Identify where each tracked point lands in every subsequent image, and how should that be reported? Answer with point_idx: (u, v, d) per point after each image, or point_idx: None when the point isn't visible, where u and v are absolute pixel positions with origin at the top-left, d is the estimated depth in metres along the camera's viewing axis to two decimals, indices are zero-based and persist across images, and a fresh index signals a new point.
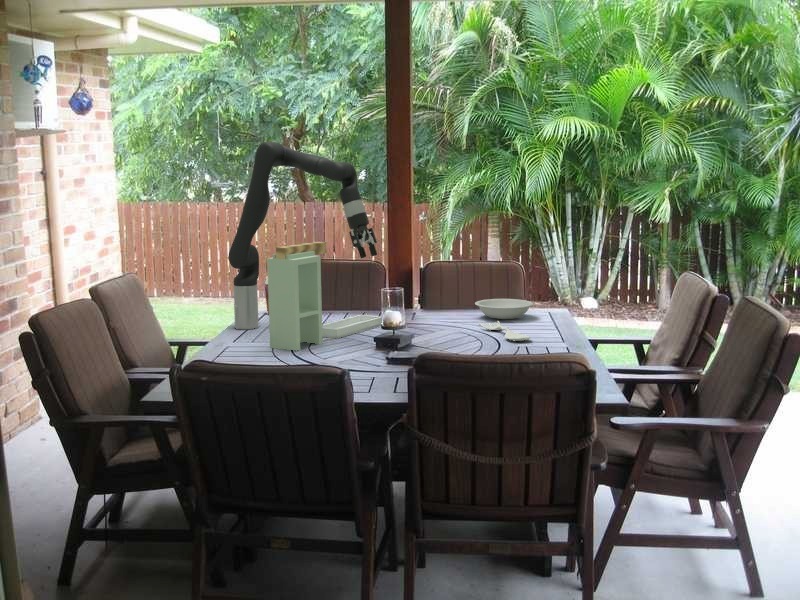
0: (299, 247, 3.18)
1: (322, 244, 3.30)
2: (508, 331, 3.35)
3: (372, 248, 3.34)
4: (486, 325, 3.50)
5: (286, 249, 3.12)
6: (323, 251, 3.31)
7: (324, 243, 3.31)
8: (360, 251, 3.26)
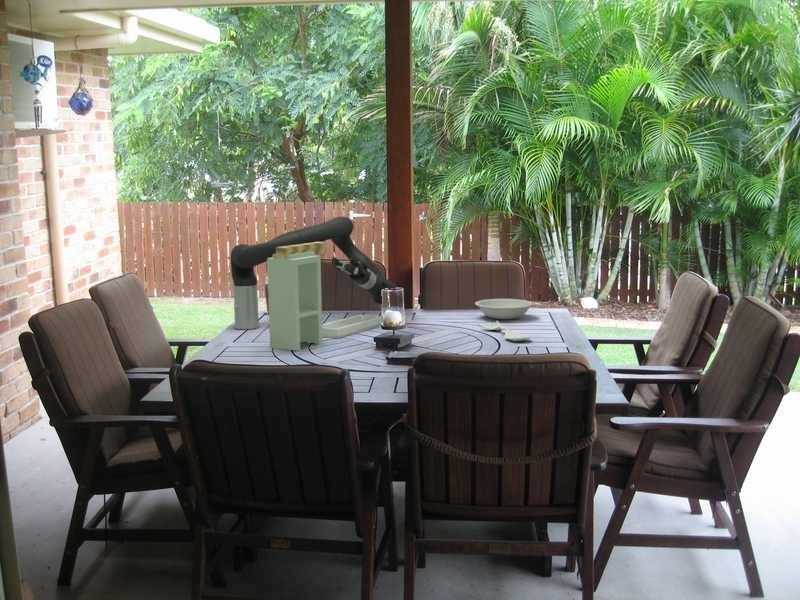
0: (299, 247, 3.18)
1: (322, 244, 3.30)
2: (508, 331, 3.35)
3: (337, 262, 3.49)
4: (485, 325, 3.51)
5: (286, 249, 3.12)
6: (323, 251, 3.31)
7: (324, 243, 3.31)
8: (356, 263, 3.43)
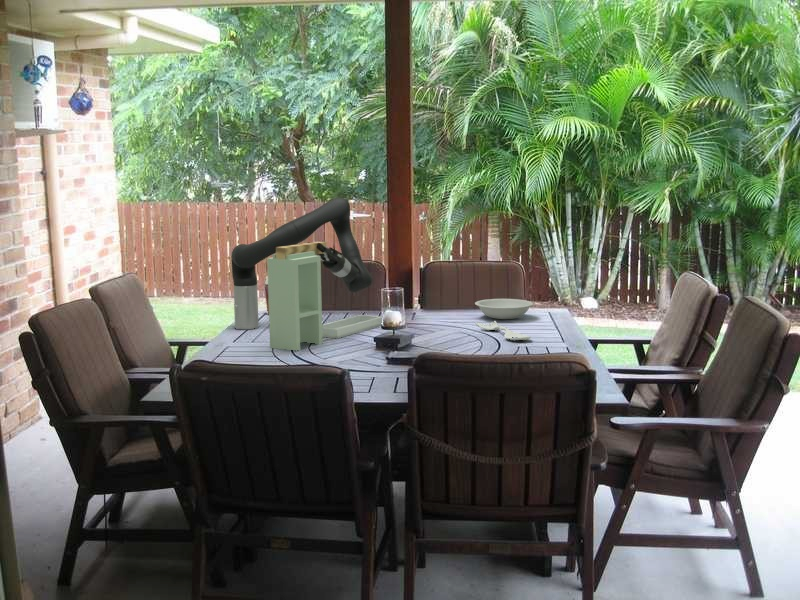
0: (299, 247, 3.18)
1: (322, 244, 3.30)
2: (507, 331, 3.35)
3: None
4: (483, 325, 3.51)
5: (286, 249, 3.12)
6: None
7: (324, 243, 3.31)
8: (323, 247, 3.28)
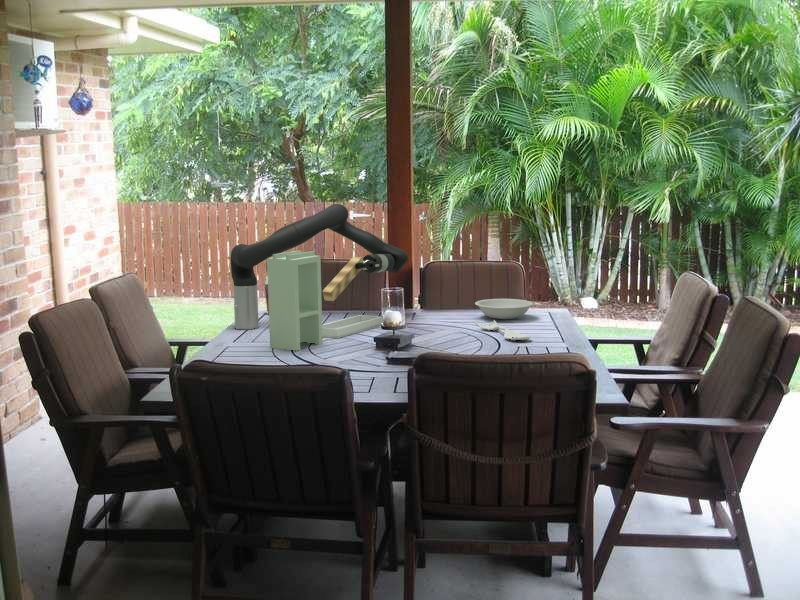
0: (341, 281, 3.42)
1: (359, 261, 3.51)
2: (507, 331, 3.35)
3: None
4: (483, 325, 3.51)
5: (332, 292, 3.37)
6: None
7: (360, 259, 3.51)
8: (361, 266, 3.50)
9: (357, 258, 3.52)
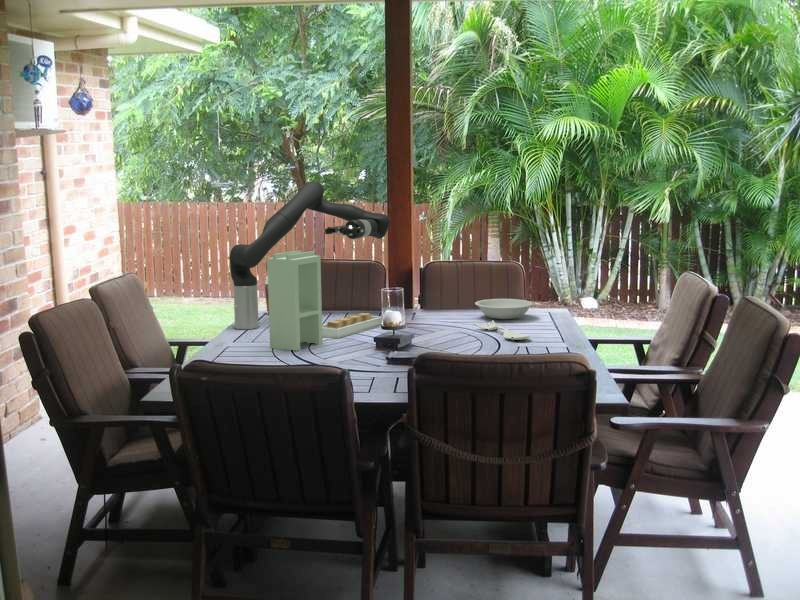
0: (348, 321, 3.48)
1: (367, 316, 3.59)
2: (506, 330, 3.36)
3: (330, 231, 3.58)
4: (481, 325, 3.51)
5: (337, 324, 3.42)
6: None
7: (369, 314, 3.60)
8: (349, 231, 3.53)
9: (366, 313, 3.61)
